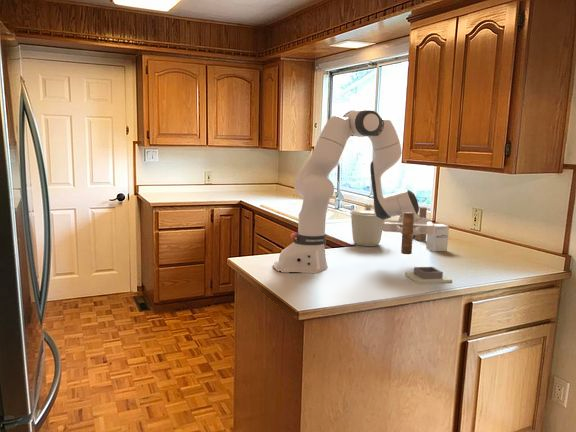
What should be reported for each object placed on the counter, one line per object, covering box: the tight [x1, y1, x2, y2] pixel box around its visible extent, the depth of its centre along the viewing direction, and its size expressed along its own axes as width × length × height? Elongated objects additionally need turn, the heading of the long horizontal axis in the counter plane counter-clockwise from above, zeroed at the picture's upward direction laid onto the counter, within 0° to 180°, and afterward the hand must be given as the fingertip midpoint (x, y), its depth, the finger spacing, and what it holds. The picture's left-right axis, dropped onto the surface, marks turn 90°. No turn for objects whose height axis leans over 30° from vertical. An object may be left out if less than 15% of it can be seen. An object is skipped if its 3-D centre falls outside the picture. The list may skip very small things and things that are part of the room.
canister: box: [349, 203, 385, 247], centre depth 247 cm, size 18×18×21 cm
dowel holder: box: [404, 266, 453, 285], centre depth 190 cm, size 14×12×4 cm
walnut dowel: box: [400, 212, 414, 255], centre depth 190 cm, size 4×4×16 cm
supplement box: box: [426, 223, 450, 252], centre depth 239 cm, size 7×7×13 cm
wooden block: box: [412, 206, 428, 242], centre depth 263 cm, size 4×11×18 cm, turn 16°
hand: (407, 230), depth 189 cm, fingers closed on walnut dowel, 4 cm apart
